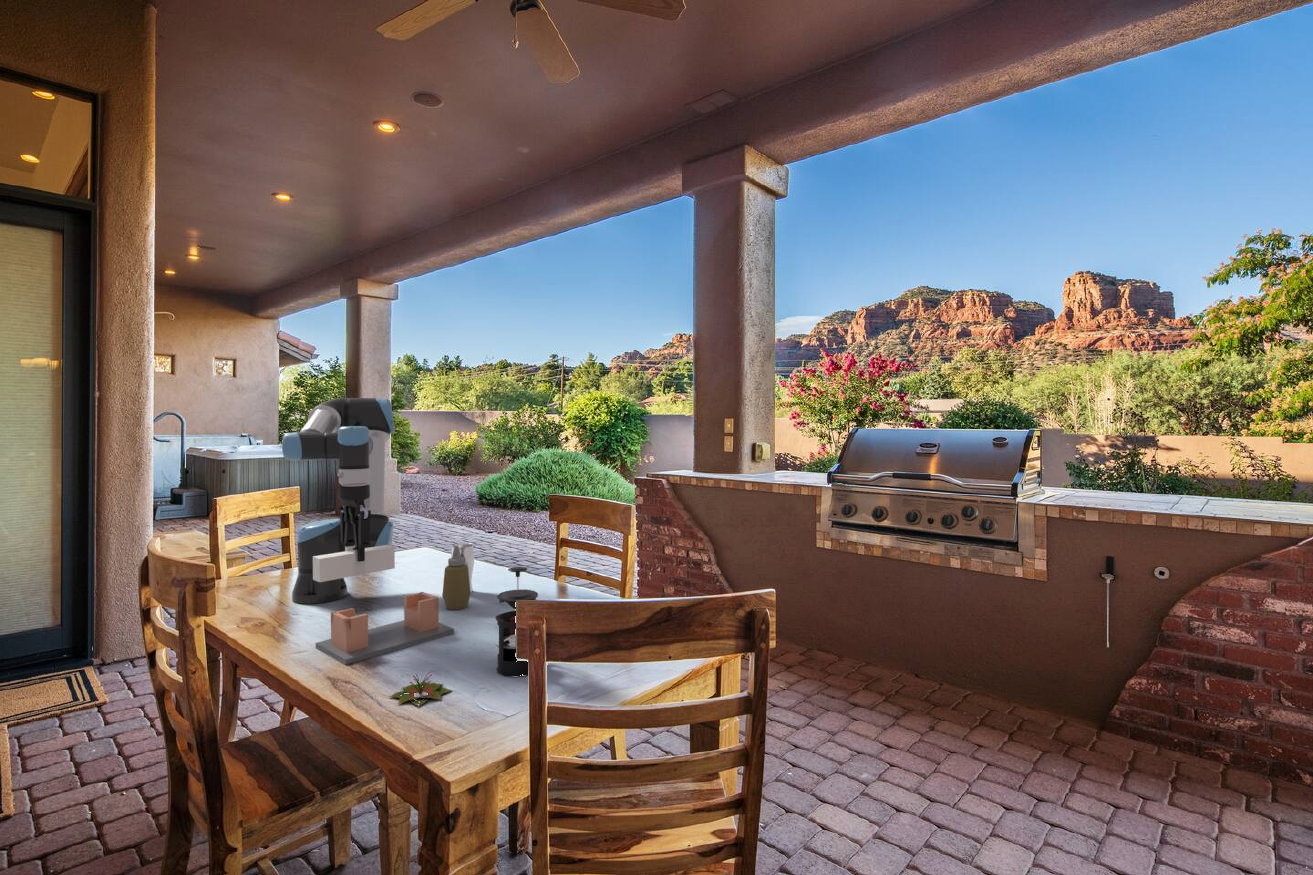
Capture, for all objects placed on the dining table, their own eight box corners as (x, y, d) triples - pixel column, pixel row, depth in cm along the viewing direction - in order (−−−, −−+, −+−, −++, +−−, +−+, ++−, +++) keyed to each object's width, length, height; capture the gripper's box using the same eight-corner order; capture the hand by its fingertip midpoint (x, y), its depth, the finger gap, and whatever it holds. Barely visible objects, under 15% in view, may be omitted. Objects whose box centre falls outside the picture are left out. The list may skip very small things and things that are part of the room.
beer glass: (478, 590, 210) (478, 544, 209) (465, 596, 203) (465, 548, 203) (460, 588, 212) (460, 542, 212) (446, 594, 206) (446, 546, 205)
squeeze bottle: (462, 612, 188) (462, 550, 187) (436, 610, 189) (436, 548, 189) (475, 604, 196) (475, 544, 195) (451, 602, 197) (450, 542, 196)
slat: (313, 579, 169) (312, 556, 168) (387, 565, 184) (387, 544, 184) (319, 582, 166) (319, 558, 166) (394, 568, 181) (394, 546, 181)
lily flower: (376, 700, 132) (376, 678, 132) (424, 679, 142) (424, 659, 142) (416, 715, 126) (416, 692, 126) (464, 692, 136) (464, 670, 136)
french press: (509, 681, 141) (509, 575, 140) (485, 669, 147) (485, 568, 146) (553, 666, 149) (553, 566, 148) (528, 655, 156) (528, 559, 155)
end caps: (315, 647, 159) (314, 611, 159) (421, 619, 181) (421, 587, 180) (345, 664, 149) (345, 625, 149) (454, 633, 170) (453, 599, 170)
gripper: (325, 483, 177) (326, 568, 178) (355, 488, 166) (356, 579, 167) (353, 480, 182) (354, 564, 183) (383, 485, 171) (384, 574, 172)
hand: (355, 571), depth 175 cm, fingers closed on slat, 4 cm apart
